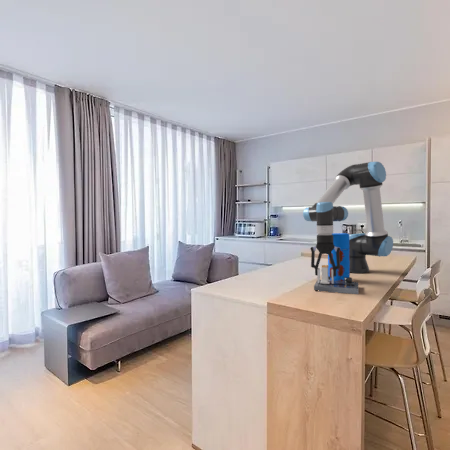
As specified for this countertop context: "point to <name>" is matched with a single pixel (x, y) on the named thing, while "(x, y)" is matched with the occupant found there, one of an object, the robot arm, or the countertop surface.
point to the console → (338, 286)
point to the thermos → (344, 254)
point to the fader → (325, 275)
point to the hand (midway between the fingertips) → (325, 282)
